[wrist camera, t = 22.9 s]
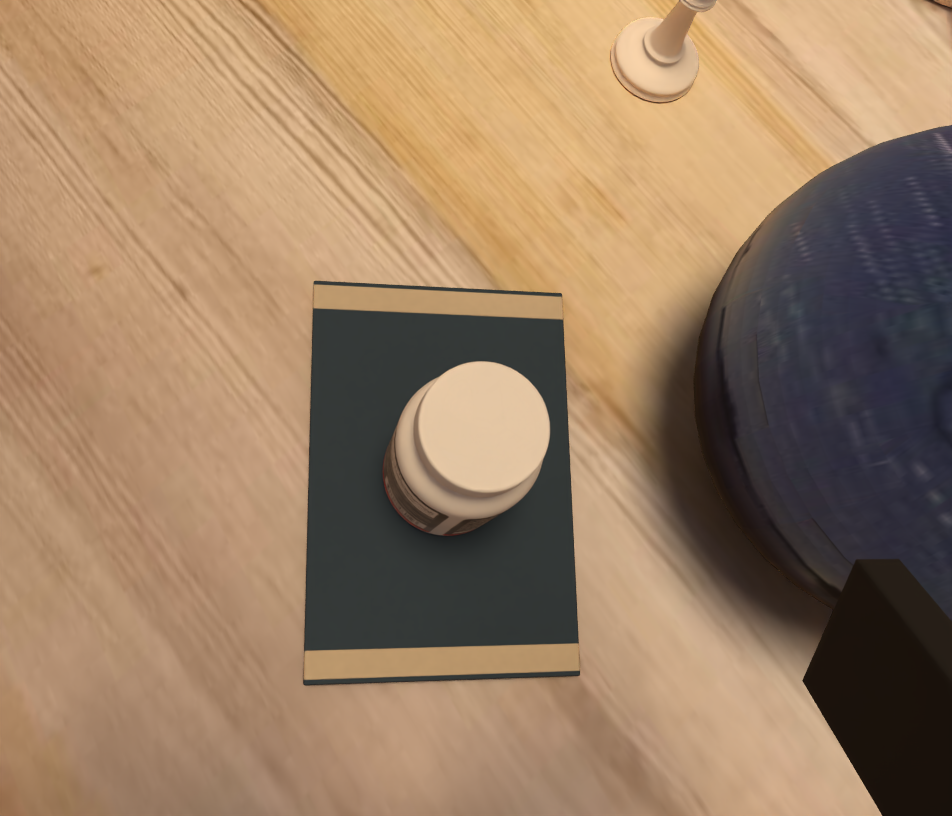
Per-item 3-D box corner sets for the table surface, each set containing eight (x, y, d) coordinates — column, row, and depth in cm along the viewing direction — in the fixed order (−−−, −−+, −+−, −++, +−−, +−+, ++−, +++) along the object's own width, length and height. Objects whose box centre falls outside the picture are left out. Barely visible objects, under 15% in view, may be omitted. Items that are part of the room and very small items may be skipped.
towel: (576, 675, 39) (581, 675, 38) (303, 684, 36) (303, 685, 36) (558, 297, 43) (562, 292, 42) (313, 284, 41) (313, 279, 40)
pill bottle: (510, 421, 40) (572, 359, 31) (500, 543, 39) (563, 517, 29) (387, 405, 39) (413, 336, 30) (373, 529, 38) (395, 498, 28)
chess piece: (693, 110, 47) (791, -20, 38) (607, 93, 46) (685, -44, 37) (696, 33, 48) (791, -111, 39) (612, 15, 48) (688, -137, 38)
